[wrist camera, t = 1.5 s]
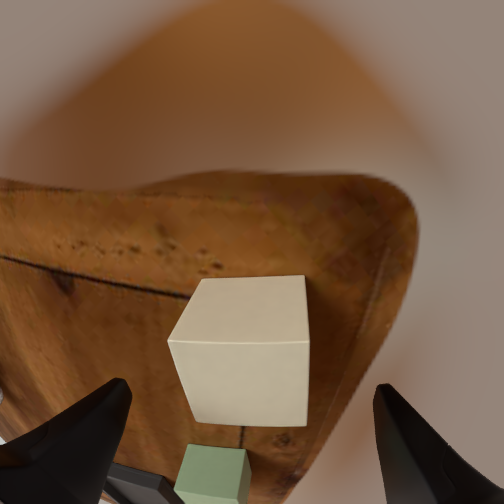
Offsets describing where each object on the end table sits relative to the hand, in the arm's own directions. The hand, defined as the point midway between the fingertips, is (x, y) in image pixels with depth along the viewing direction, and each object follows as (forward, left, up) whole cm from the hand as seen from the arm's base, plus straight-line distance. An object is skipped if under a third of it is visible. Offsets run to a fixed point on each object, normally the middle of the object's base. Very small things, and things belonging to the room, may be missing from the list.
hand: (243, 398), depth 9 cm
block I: (-14, +4, -5) cm, 15 cm away
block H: (0, 0, -5) cm, 5 cm away
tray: (-29, +17, -5) cm, 34 cm away
